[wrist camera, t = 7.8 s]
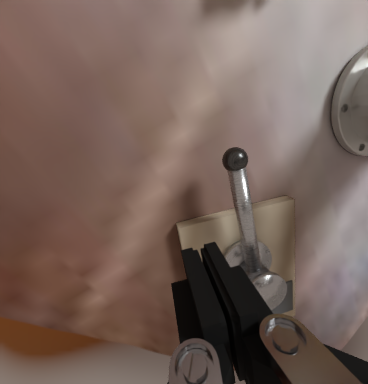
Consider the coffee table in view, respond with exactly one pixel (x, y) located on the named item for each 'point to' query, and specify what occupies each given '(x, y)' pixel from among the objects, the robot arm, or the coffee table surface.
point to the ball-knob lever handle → (250, 234)
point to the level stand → (266, 233)
